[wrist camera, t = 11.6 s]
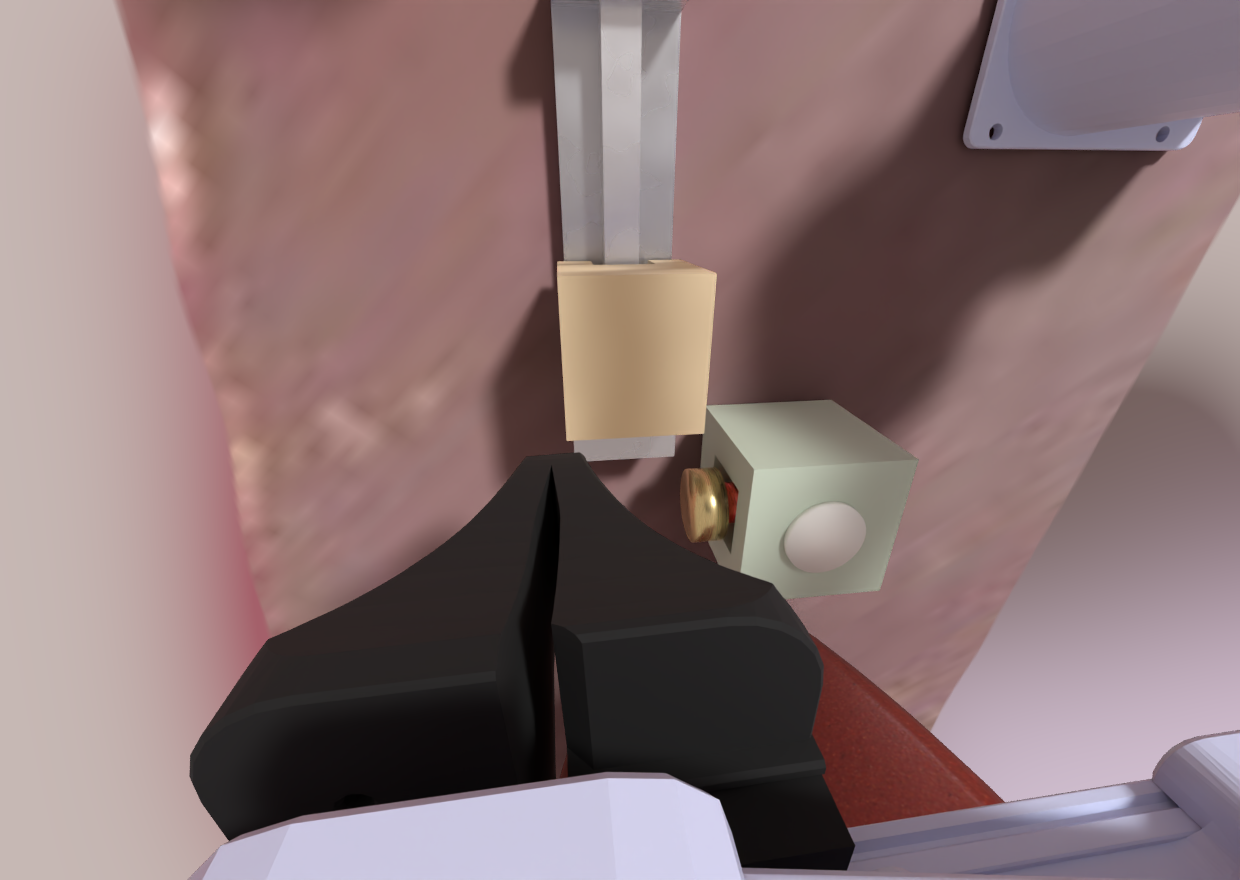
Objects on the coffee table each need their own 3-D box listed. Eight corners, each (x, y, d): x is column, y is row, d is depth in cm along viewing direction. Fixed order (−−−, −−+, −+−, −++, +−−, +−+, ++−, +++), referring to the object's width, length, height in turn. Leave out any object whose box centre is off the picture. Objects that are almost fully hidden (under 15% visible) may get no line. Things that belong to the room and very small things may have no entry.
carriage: (680, 259, 18) (717, 273, 14) (674, 388, 20) (704, 433, 16) (557, 261, 17) (557, 276, 13) (564, 393, 19) (566, 440, 15)
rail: (676, -20, 15) (700, -66, 13) (661, 428, 22) (674, 456, 19) (549, -26, 15) (547, -75, 12) (572, 432, 21) (574, 462, 19)
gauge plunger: (833, 447, 21) (873, 481, 18) (821, 505, 22) (856, 544, 20) (681, 456, 20) (700, 493, 18) (678, 515, 22) (695, 558, 19)
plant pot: (844, 553, 26) (1226, 1007, 11) (861, 749, 35) (1093, 1160, 20) (516, 653, 27) (461, 1223, 12) (611, 823, 35) (651, 1282, 20)
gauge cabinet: (831, 399, 22) (924, 463, 17) (809, 508, 25) (884, 595, 19) (705, 405, 22) (757, 474, 16) (696, 516, 24) (739, 609, 18)
